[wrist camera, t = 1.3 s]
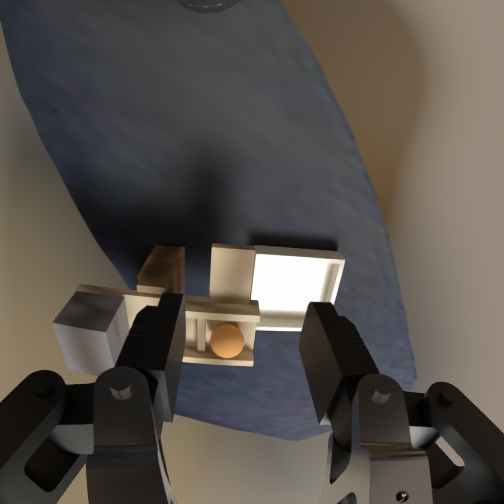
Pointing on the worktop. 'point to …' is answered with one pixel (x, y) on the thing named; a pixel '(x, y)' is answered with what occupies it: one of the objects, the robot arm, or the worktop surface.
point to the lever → (131, 302)
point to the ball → (227, 341)
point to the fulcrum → (163, 271)
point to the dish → (292, 284)
